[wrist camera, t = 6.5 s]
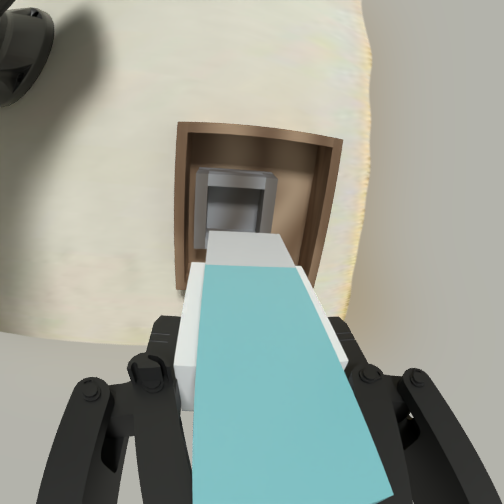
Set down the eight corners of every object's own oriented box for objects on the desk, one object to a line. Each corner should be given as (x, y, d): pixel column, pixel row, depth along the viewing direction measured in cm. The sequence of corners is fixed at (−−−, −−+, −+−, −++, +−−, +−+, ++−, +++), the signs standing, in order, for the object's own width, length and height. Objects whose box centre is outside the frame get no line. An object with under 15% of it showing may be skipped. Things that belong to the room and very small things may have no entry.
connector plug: (208, 290, 17) (205, 535, 4) (209, 230, 15) (193, 528, 3) (270, 292, 17) (332, 521, 5) (279, 234, 16) (393, 494, 3)
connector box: (181, 267, 34) (176, 289, 30) (184, 122, 27) (177, 121, 22) (301, 272, 37) (312, 293, 32) (325, 136, 29) (343, 139, 24)
